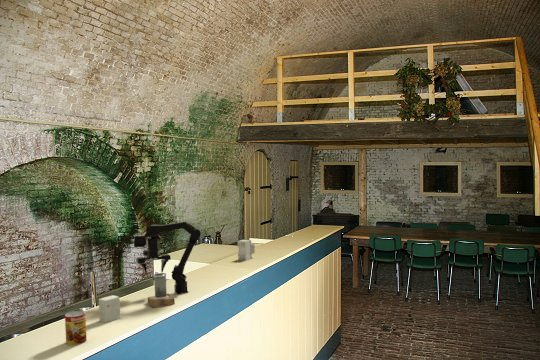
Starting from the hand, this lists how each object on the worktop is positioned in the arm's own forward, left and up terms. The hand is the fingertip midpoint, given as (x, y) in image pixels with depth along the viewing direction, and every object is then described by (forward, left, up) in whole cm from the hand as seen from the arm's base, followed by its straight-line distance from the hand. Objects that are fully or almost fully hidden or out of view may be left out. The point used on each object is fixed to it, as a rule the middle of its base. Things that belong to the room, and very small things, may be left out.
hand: (154, 273), depth 257 cm
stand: (+2, +21, -12) cm, 24 cm away
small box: (+30, +33, -12) cm, 46 cm away
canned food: (+47, +56, -12) cm, 74 cm away
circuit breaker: (-90, -63, -12) cm, 111 cm away
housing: (+2, +21, -9) cm, 23 cm away
